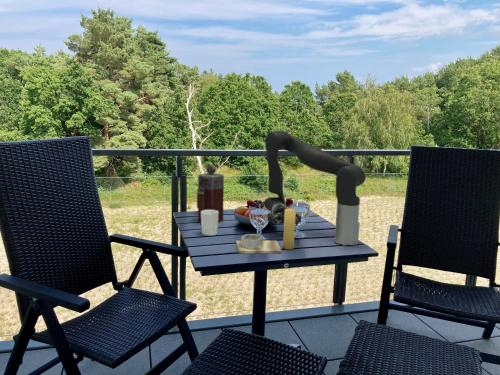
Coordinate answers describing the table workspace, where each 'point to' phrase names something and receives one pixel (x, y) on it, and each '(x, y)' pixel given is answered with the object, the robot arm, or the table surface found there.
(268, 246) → the birch board
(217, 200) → the french press
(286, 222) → the ochre steel pin
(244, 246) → the steel ring collar
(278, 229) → the table surface
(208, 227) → the white cup
